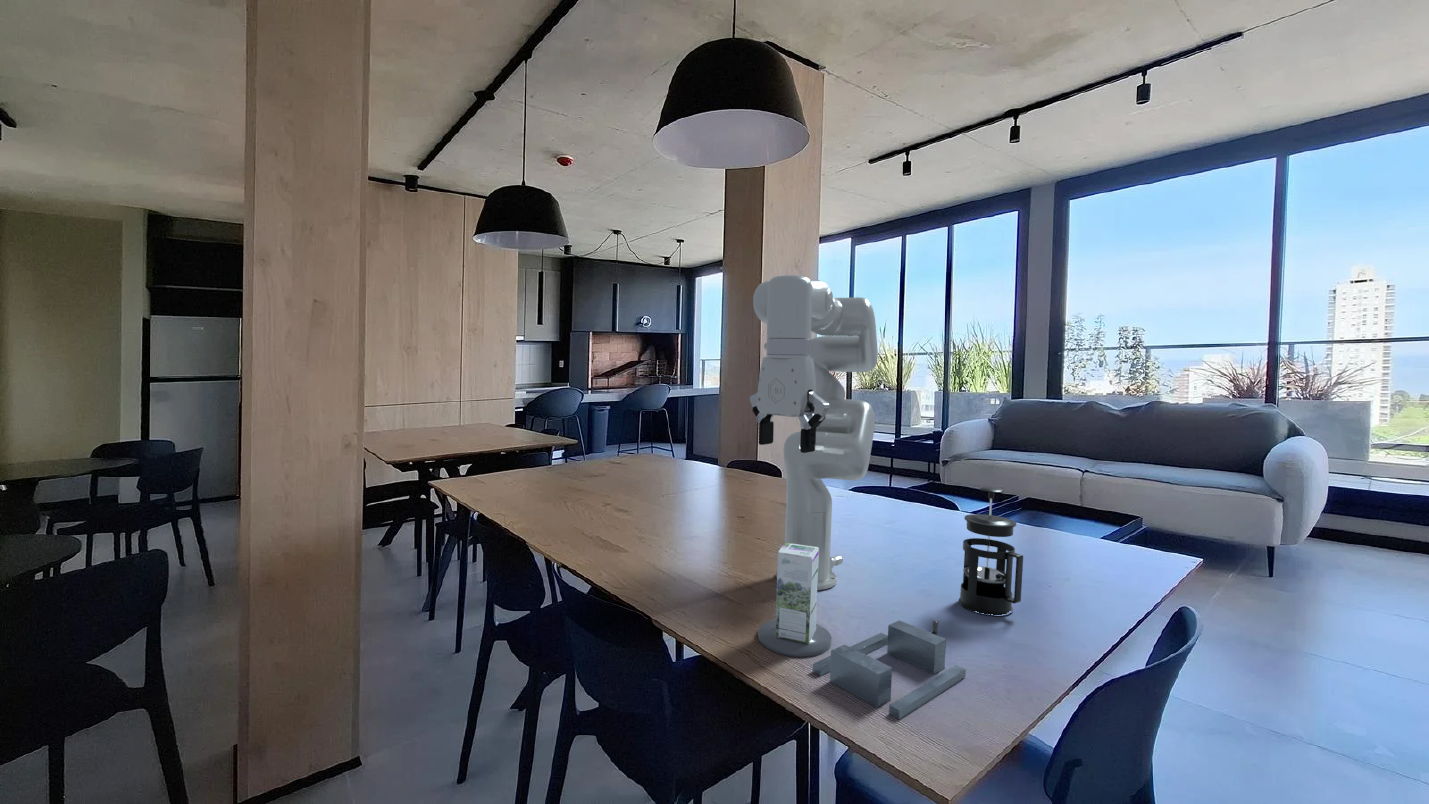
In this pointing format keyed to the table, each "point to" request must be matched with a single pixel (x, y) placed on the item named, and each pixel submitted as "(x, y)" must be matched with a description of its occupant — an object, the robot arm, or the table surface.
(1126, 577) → the table surface
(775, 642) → the coaster
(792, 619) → the syrup box
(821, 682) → the table surface
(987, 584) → the french press
